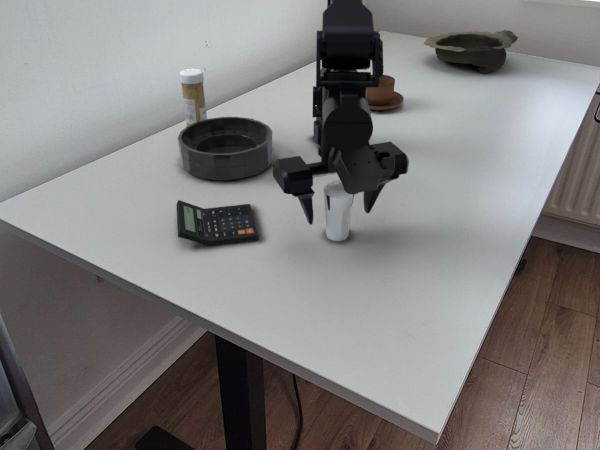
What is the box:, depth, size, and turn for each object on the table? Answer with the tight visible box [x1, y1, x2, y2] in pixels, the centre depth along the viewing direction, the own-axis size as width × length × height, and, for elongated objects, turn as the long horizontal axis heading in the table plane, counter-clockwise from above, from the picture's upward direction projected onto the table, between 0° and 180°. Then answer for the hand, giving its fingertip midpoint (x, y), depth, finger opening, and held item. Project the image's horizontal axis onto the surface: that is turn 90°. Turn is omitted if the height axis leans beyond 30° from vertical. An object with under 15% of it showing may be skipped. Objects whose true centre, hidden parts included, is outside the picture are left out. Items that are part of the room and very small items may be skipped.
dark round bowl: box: [177, 116, 274, 181], centre depth 103 cm, size 17×17×6 cm
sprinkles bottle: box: [179, 68, 208, 127], centre depth 111 cm, size 5×5×14 cm
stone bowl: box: [423, 29, 519, 74], centre depth 153 cm, size 25×25×9 cm
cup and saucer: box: [366, 74, 404, 111], centre depth 127 cm, size 12×12×6 cm
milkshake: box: [323, 178, 356, 242], centre depth 81 cm, size 4×5×10 cm
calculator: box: [175, 199, 260, 247], centre depth 84 cm, size 9×12×3 cm
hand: (338, 217), depth 82 cm, fingers open, 9 cm apart
